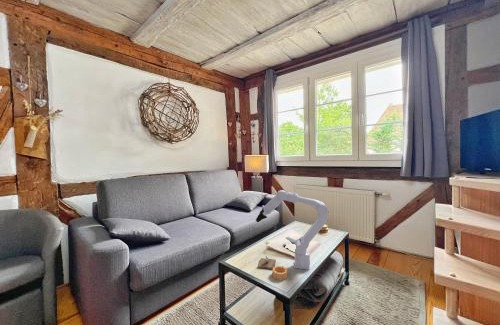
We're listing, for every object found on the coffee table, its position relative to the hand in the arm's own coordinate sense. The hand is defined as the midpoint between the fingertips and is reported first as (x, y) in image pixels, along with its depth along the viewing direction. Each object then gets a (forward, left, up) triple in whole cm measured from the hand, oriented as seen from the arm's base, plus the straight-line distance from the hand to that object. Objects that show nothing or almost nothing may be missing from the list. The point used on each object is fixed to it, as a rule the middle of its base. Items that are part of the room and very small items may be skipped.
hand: (257, 219), depth 137 cm
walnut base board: (-6, +1, -29) cm, 30 cm away
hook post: (-6, +1, -28) cm, 29 cm away
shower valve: (-22, -27, -30) cm, 46 cm away
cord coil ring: (-15, +11, -29) cm, 35 cm away
